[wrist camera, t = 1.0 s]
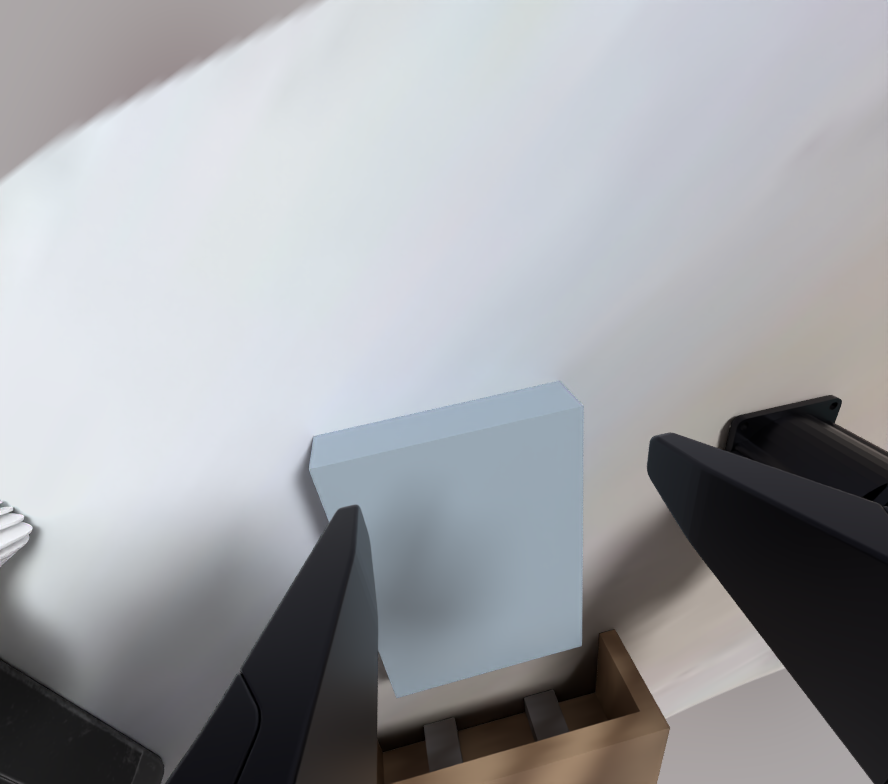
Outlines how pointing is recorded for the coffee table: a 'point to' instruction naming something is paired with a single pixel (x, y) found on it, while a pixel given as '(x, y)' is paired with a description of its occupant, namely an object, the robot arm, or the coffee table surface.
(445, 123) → the coffee table surface
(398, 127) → the coffee table surface
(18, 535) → the shell sculpture
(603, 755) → the tan rectangular block
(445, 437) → the slate tile
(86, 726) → the cash box
